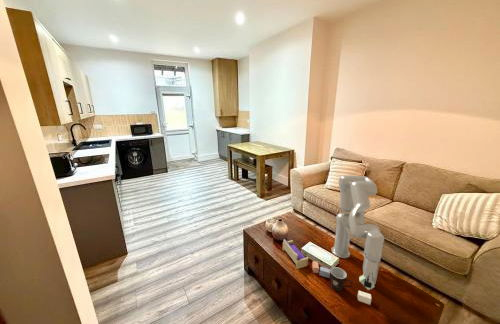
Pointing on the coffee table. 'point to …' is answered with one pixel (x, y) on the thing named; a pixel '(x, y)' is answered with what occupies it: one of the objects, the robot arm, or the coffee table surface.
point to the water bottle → (376, 271)
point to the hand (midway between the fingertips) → (367, 284)
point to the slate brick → (324, 272)
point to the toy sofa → (295, 254)
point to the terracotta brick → (315, 267)
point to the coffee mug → (338, 279)
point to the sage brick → (362, 280)
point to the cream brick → (364, 297)
